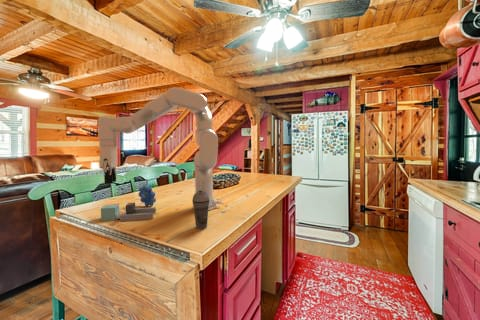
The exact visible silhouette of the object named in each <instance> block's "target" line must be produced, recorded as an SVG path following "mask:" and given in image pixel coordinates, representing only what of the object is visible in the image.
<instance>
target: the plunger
mask: <svg viewBox="0 0 480 320" xmlns="http://www.w3.org/2000/svg"><path fill="white" fill-rule="evenodd" d="M135 209H136V202H134V201H133V202H128V203H126V204H125V210H123V211H120V210H119V212H118V213H117V214H116V220H119V219H120V215H125V214H135Z"/></svg>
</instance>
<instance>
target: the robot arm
mask: <svg viewBox="0 0 480 320" xmlns="http://www.w3.org/2000/svg"><path fill="white" fill-rule="evenodd" d="M178 107H181V108H185V109H187V110H188V111H189V112H190V113H192V114H193V115H194V116H195V119H196V136H195V141H196V144H197V146H198V147H199V148H198V151H197V152H195V153H196V154H194V156H193V157H194V158H193V164H194V179H195V180H194V183H195V184H194V185H195V186H194V187H195V189H194V190H195V191H194V192H195V193H196V192H198V191H202V185H203V180H204V187H203V191H205V192H206V193H207V194H208V196H209V199H210V201H209V206H208V211H211V210H214V209H216V207H217V205H221V204H223V203H222V199H221V200H219V199H214V181H213V179H214V176H213V175H214V173H213V169H214V168H215V166H217V163H218V154H219V137H218V135H217V133H216V132H215V131H214V129H213V127H214V126H213V125H214V124H213V120H214V119H213V115H212V112H211V110H210V109H209V108H208V100H207V97H205V95H203V94H202V93H199V92H196V91H191V90H188V89H184V88H181V87H170V88H169V89H168V90H167V91H166V92H165V93H164V94H162V95H160V96H158V97H156V98H154V99H152V100H150V101H148V102H146V103H145V104H144V105H143V106H142V108H140V109H139V110H137V111H135V112H134V113H133V114H131V115H129V116H117V117H116V116H115V117H112V116H100V117H99V118H98V120H97V124H98V142H99V145H98V146H99V147H100V148H99V147H98V148H99V168H100V169H101V170H103V177H104V184H105V185H110V184H111V185H112V184H113V183H115V182H117V168H116V167H117V166H118V152H117V151H118V149H117V148H118V147H119V137H118V133H123V134H132V133H134V132H136V131H137V130H138V129H141V128H143V127H144V126H146V125H148V124H149V123H152V122H154V121H155V120H157V119H159V118H161V117H163V116H164V115H166V114H168V113H169V112H172V111H173V110H175V109H177V108H178ZM195 193H194V194H195ZM192 209H193V210H194V206H193V205H192Z"/></svg>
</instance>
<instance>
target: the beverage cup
mask: <svg viewBox="0 0 480 320" xmlns="http://www.w3.org/2000/svg"><path fill="white" fill-rule="evenodd" d="M203 187H204V180H203V185H202V191H198V192H196V193H194V194H193V197H192V207H193V206H194V209H193V211H194V221H195V228H196V229H198V230H205V229H207V227H208V217H209V210H208V206H209V201H210V199H209V196H208V194H207V193H206V192H205V191H203Z"/></svg>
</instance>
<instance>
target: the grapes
mask: <svg viewBox="0 0 480 320" xmlns="http://www.w3.org/2000/svg"><path fill="white" fill-rule="evenodd" d="M138 197H140V203H141V202H142V204H144V206H145V207H153V206H154V203H156V201H157V199H156V193H155V192H154V191H153V187H151V186H148V185H146V184H143V185H142V186H140V187H139V192H138Z"/></svg>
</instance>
